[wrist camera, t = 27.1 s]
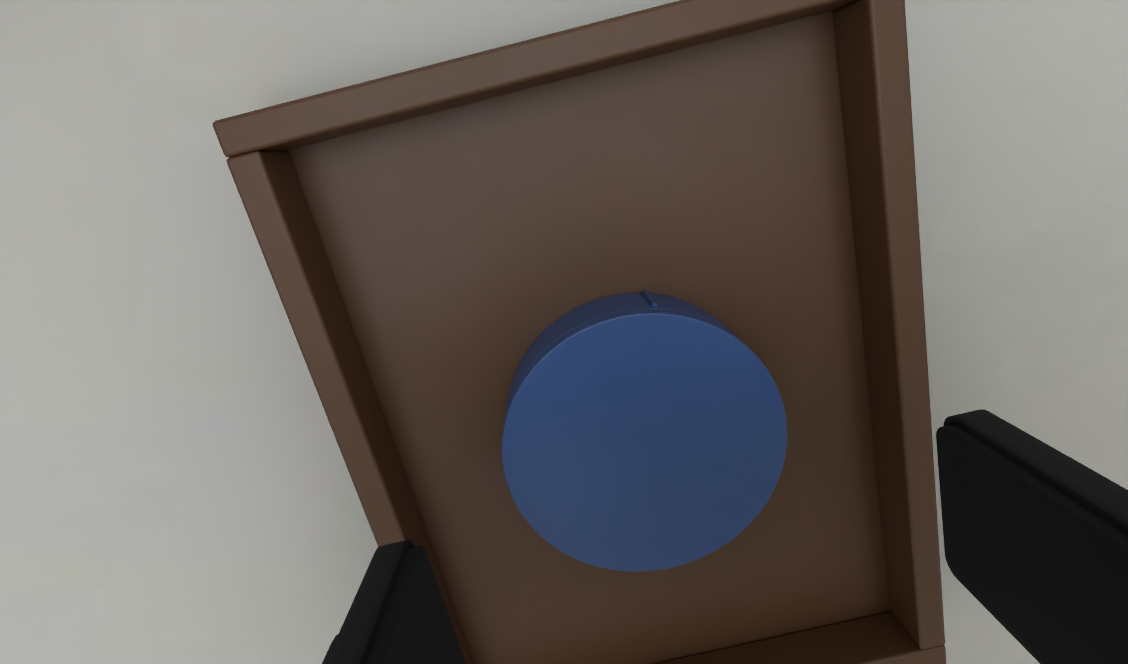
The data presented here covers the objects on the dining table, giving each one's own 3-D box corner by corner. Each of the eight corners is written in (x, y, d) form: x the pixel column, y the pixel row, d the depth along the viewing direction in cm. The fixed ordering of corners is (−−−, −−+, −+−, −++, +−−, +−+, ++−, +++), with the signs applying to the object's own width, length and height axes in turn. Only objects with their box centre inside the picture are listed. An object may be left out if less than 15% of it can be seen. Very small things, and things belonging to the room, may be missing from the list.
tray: (904, 611, 18) (948, 666, 16) (473, 706, 18) (465, 771, 16) (849, -28, 13) (902, -58, 11) (256, 125, 13) (209, 121, 11)
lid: (508, 283, 14) (504, 303, 12) (776, 293, 14) (810, 314, 13) (503, 522, 16) (498, 570, 14) (740, 527, 16) (765, 574, 14)
